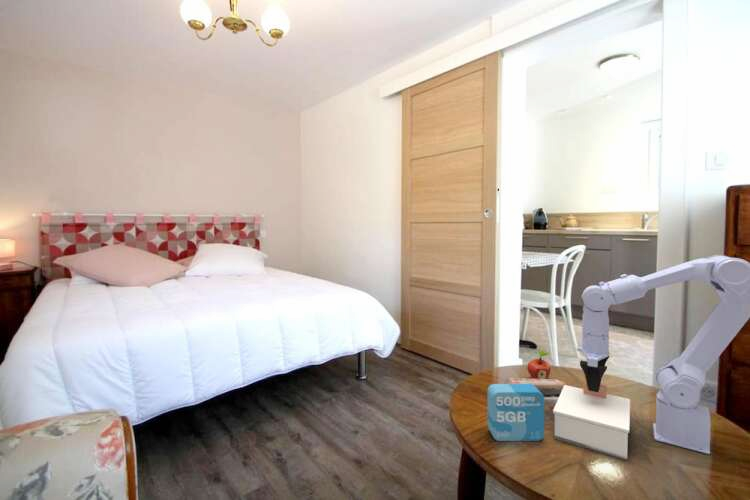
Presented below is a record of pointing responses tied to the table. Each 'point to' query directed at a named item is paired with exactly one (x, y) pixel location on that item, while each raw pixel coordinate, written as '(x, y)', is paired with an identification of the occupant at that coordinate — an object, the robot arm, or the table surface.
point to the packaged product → (542, 387)
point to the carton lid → (594, 407)
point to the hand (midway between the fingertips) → (594, 385)
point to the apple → (539, 367)
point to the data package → (515, 412)
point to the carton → (591, 436)
